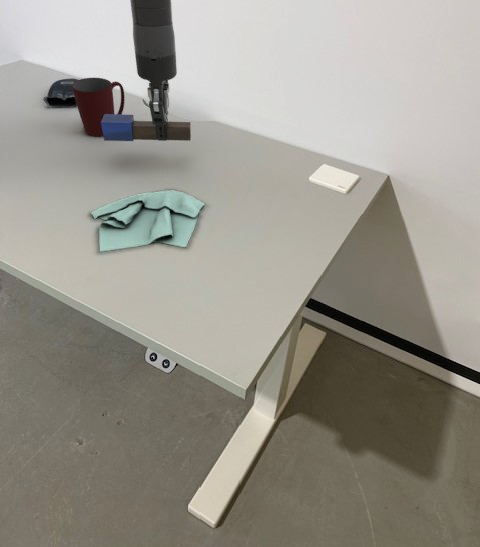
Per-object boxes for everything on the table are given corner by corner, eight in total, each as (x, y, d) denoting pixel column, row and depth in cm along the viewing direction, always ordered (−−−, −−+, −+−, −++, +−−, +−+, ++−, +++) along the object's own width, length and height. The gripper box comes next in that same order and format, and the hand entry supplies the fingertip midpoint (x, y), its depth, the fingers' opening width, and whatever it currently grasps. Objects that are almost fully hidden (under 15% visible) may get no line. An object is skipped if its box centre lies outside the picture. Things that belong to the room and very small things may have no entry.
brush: (190, 142, 89) (189, 124, 86) (104, 140, 88) (100, 122, 85) (191, 133, 92) (190, 115, 89) (107, 132, 91) (104, 113, 88)
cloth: (215, 201, 85) (215, 190, 83) (170, 270, 70) (169, 260, 68) (125, 180, 89) (123, 170, 87) (64, 242, 74) (60, 231, 72)
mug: (119, 116, 111) (112, 72, 103) (136, 129, 106) (130, 84, 98) (75, 127, 105) (65, 82, 97) (91, 141, 100) (81, 94, 93)
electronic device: (84, 112, 115) (88, 83, 124) (76, 93, 110) (81, 65, 119) (50, 116, 114) (56, 88, 123) (40, 98, 110) (48, 69, 119)
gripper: (139, 37, 83) (148, 121, 95) (129, 60, 73) (141, 152, 85) (177, 38, 83) (181, 122, 95) (172, 62, 73) (178, 152, 85)
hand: (162, 136), depth 90 cm, fingers closed on brush, 2 cm apart
